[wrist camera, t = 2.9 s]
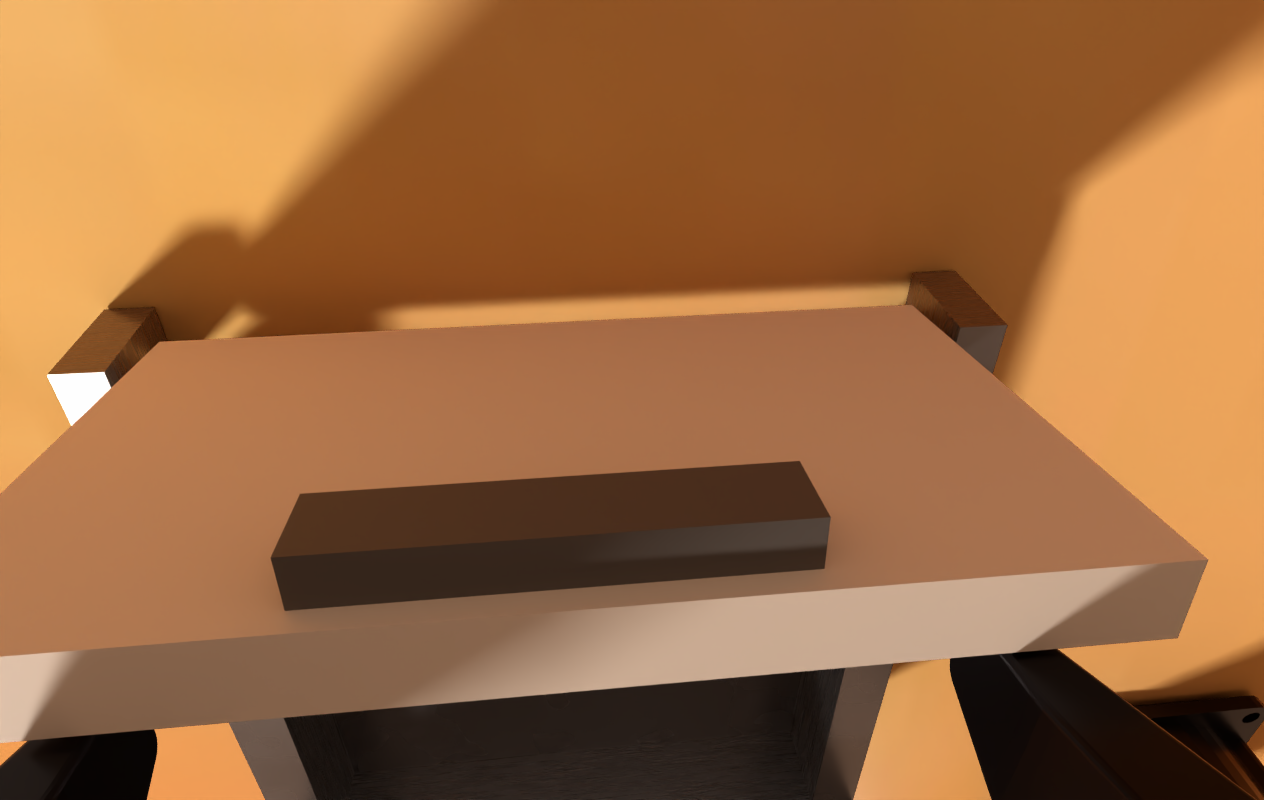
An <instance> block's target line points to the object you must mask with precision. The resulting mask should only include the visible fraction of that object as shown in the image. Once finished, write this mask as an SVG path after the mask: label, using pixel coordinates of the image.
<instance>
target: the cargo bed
mask: <svg viewBox="0 0 1264 800" xmlns="http://www.w3.org/2000/svg"><path fill="white" fill-rule="evenodd" d="M906 305H912V306H914V307H915V308H916V309H917V310H918V311H919V312H921V313H922V314H923V315H924V316H925V317H926V318H928V319H929V320H930V321H931V322H932V323H933V324H935V325H936V326H937V327H938V328H939V329H940V330H942V331H943V332H944V333H945V334H946V335H947V336H949V337H950V338H951V339H952V340H953V341H954V342H956V343H957V344H958V345H959V346H960V347H961V348H963V349H964V350H965V351H966V352H967V353H968V354H969V355H971V356H972V357H973V358H974V359H975V360H976V361H978V362H979V363H980V364H981V365H982V366H983V367H985V368H986V369H987V370H988V371H989V372H990V373H992V374H993V371H994V367H995V364H996V361H997V358H998V354H999V351H1000V348H1001V345H1002V341H1003V338H1004V335H1005V332H1006V328H1007V324H1006V323H1005V322H1004V321H1003V320H1002V319H1001V318H1000V317H999V316H998V315H997V314H996V313H995V312H994V311H993V310H992V309H991V308H990V307H989V305H988V304H987V303H986V302H985V301H984V300H983V299H982V298H981V297H980V296H979V295H978V294H977V293H976V292H975V291H974V290H973V289H972V288H971V287H970V286H969V285H968V284H967V283H966V282H965V281H964V280H963V279H962V278H961V277H960V276H959V275H958V273H957V272H956V271H941V272H919V273H913V274H912V279H911V283H910V288H909V292H908V297H907V301H906ZM165 341H167V339H166V337H165V334H164V331H163V329H162V326H161V323H160V321H159V318H158V315H157V313H156V310H155V308H154V307H151V308H129V309H107V310H104V311H103V312H102V313H101V314H100V315H99V316H98V317H97V319H96V320H95V321H94V322H93V323H92V324H91V325H90V327H89V328H88V329H87V330H86V331H85V332H84V333H83V334H82V336H81V337H80V338H79V339H78V340H77V341H76V342H75V344H74V345H73V346H72V347H71V348H70V349H69V350H68V352H67V353H66V354H65V355H64V356H63V357H62V358H61V359H60V361H59V362H58V363H57V364H56V365H55V366H54V367H53V369H52V370H51V371H50V372H49V373H48V374H47V376H48V378H49V380H50V382H51V385H52V387H53V389H54V391H55V393H56V395H57V397H58V399H59V401H60V403H61V405H62V407H63V409H64V411H65V413H66V415H67V417H68V419H69V421H70V423H71V425H73V424H74V423H75V422H76V421H77V420H78V419H79V418H80V417H81V416H82V415H83V414H84V413H85V412H87V411H88V410H89V409H90V408H91V407H92V406H93V405H94V404H95V403H96V402H97V401H98V400H99V399H100V398H101V397H102V396H103V395H104V394H105V393H106V392H107V391H109V390H110V389H111V388H112V387H113V386H114V385H115V384H116V383H117V382H118V381H119V380H120V379H121V378H122V377H123V376H124V375H125V374H126V373H127V372H128V371H129V370H130V369H132V368H133V367H134V366H135V365H136V364H137V363H138V362H139V361H140V360H141V359H142V358H143V357H144V356H145V355H146V354H147V353H148V352H149V351H150V350H151V349H152V348H153V347H155V346H156V345H157V344H158V343H159V342H165ZM892 666H893V663H892V664H881V665H870V666H858V667H847V668H836V669H825V670H813V671H802V672H791V673H780V674H768V675H757V676H746V677H735V678H724V679H712V680H701V681H690V682H679V683H667V684H656V685H645V686H634V687H623V688H611V689H600V690H589V691H578V692H566V693H555V694H544V695H533V696H522V697H510V698H499V699H488V700H477V701H465V702H454V703H443V704H432V705H421V706H409V707H398V708H387V709H376V710H364V711H353V712H342V713H331V714H320V715H308V716H297V717H286V718H275V719H263V720H252V721H241V722H230V723H229V724H230V726H231V728H232V730H233V732H234V735H235V737H236V739H237V741H238V743H239V745H240V747H241V749H242V751H243V754H244V756H245V758H246V760H247V762H248V764H249V766H250V768H251V770H252V773H253V775H254V777H255V779H256V781H257V783H258V785H259V787H260V789H261V792H262V794H263V796H264V798H265V800H853V798H854V794H855V791H856V788H857V784H858V781H859V778H860V774H861V771H862V767H863V764H864V761H865V757H866V754H867V750H868V747H869V744H870V740H871V737H872V734H873V730H874V727H875V723H876V720H877V717H878V713H879V710H880V706H881V703H882V700H883V696H884V693H885V689H886V686H887V683H888V679H889V676H890V673H891V669H892Z"/></svg>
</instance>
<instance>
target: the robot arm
mask: <svg viewBox="0 0 1264 800" xmlns="http://www.w3.org/2000/svg"><path fill="white" fill-rule="evenodd" d="M950 673H951V678H952V681H953V684H954V687H955V690H956V693H957V697H958V700H959V703H960V706H961V709H962V712H963V715H964V718H965V721H966V724H967V727H968V730H969V733H970V736H971V739H972V742H973V745H974V748H975V751H976V754H977V757H978V760H979V763H980V766H981V769H982V773H983V776H984V779H985V782H986V785H987V788H988V791H989V793H990V796H991V799H992V800H1264V766H1263V764H1262V763H1261V762H1260V760H1259V759H1258V758H1257V757H1256V755H1255V754H1254V753H1253V752H1252V750H1251V749H1250V748H1249V746H1248V745H1247V744H1246V743H1247V742H1248V741H1249V739H1250V738H1251V737H1252V735H1253V734H1254V733H1255V731H1256V730H1257V729H1258V727H1259V726H1260V725H1261V723H1262V722H1263V721H1264V705H1263V704H1262V702H1261V701H1260V700H1259V699H1258V698H1257V697H1255V696H1241V697H1230V698H1220V699H1210V700H1199V701H1189V702H1179V703H1168V704H1158V705H1147V706H1137V707H1134V706H1132V705H1131V704H1130V703H1128V702H1127V701H1126V700H1124V699H1123V698H1122V697H1120V696H1119V695H1118V694H1116V693H1115V692H1114V691H1112V690H1111V689H1110V688H1108V687H1107V686H1106V685H1105V684H1103V683H1102V682H1101V681H1099V680H1098V679H1097V678H1095V677H1094V676H1093V675H1091V674H1090V673H1089V672H1087V671H1086V670H1085V669H1083V668H1082V667H1081V666H1079V665H1078V664H1077V663H1075V662H1074V661H1073V660H1071V659H1070V658H1069V657H1068V656H1066V655H1065V654H1064V653H1062V652H1061V651H1060V650H1058V649H1049V650H1038V651H1027V652H1015V653H1004V654H993V655H982V656H971V657H959V658H950ZM156 755H157V737H156V733H155V730H154V729H151V730H140V731H129V732H118V733H106V734H95V735H84V736H73V737H61V738H50V739H39V740H28V741H27V742H26V743H24V744H23V745H22V746H21V747H20V748H19V749H18V750H17V751H16V752H15V753H14V754H12V755H11V756H10V757H9V758H8V759H7V760H6V761H5V762H4V763H3V764H2V765H0V800H147V796H148V791H149V787H150V782H151V778H152V774H153V769H154V765H155V760H156Z"/></svg>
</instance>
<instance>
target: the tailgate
mask: <svg viewBox="0 0 1264 800" xmlns="http://www.w3.org/2000/svg"><path fill="white" fill-rule="evenodd" d="M1207 562H1208V559H1207V558H1206V557H1205V556H1204V555H1202V554H1201V553H1200V552H1199V551H1198V550H1197V549H1195V548H1194V547H1193V546H1192V545H1191V544H1190V543H1188V542H1187V541H1186V540H1185V539H1184V538H1183V537H1181V536H1180V535H1179V534H1178V533H1177V532H1176V531H1174V530H1173V529H1172V528H1171V527H1170V526H1169V525H1167V524H1166V523H1165V522H1164V521H1163V520H1162V519H1160V518H1159V517H1158V516H1157V515H1156V514H1155V513H1153V512H1152V511H1151V510H1150V509H1149V508H1148V507H1146V506H1145V505H1144V504H1143V503H1142V502H1141V501H1139V500H1138V499H1137V498H1136V497H1135V496H1134V495H1132V494H1131V493H1130V492H1129V491H1128V490H1127V489H1126V488H1124V487H1123V486H1122V485H1121V484H1120V483H1119V482H1117V481H1116V480H1115V479H1114V478H1113V477H1112V476H1110V475H1109V474H1108V473H1107V472H1106V471H1105V470H1103V469H1102V468H1101V467H1100V466H1099V465H1098V464H1096V463H1095V462H1094V461H1093V460H1092V459H1091V458H1089V457H1088V456H1087V455H1086V454H1085V453H1084V452H1082V451H1081V450H1080V449H1079V448H1078V447H1077V446H1075V445H1074V444H1073V443H1072V442H1071V441H1070V440H1068V439H1067V438H1066V437H1065V436H1064V435H1063V434H1061V433H1060V432H1059V431H1058V430H1057V429H1056V428H1054V427H1053V426H1052V425H1051V424H1050V423H1049V422H1048V421H1046V420H1045V419H1044V418H1043V417H1042V416H1041V415H1039V414H1038V413H1037V412H1036V411H1035V410H1034V409H1032V408H1031V407H1030V406H1029V405H1028V404H1027V403H1025V402H1024V401H1023V400H1022V399H1021V398H1020V397H1018V396H1017V395H1016V394H1015V393H1014V392H1013V391H1011V390H1010V389H1009V388H1008V387H1007V386H1006V385H1004V384H1003V383H1002V382H1001V381H1000V380H999V379H997V378H996V377H995V376H994V375H993V374H992V373H990V372H989V371H988V370H987V369H986V368H985V367H983V366H982V365H981V364H980V363H979V362H978V361H976V360H975V359H974V358H973V357H972V356H971V355H969V354H968V353H967V352H966V351H965V350H964V349H963V348H961V347H960V346H959V345H958V344H957V343H956V342H954V341H953V340H952V339H951V338H950V337H949V336H947V335H946V334H945V333H944V332H943V331H942V330H940V329H939V328H938V327H937V326H936V325H935V324H933V323H932V322H931V321H930V320H929V319H928V318H926V317H925V316H924V315H923V314H922V313H921V312H919V311H918V310H917V309H916V308H915V307H914V306H912V305H898V306H877V307H857V308H837V309H816V310H796V311H776V312H755V313H735V314H715V315H694V316H674V317H654V318H633V319H613V320H593V321H572V322H552V323H532V324H511V325H491V326H471V327H450V328H430V329H410V330H389V331H369V332H349V333H328V334H308V335H287V336H267V337H247V338H226V339H206V340H186V341H165V342H159V343H158V344H157V345H156V346H155V347H153V348H152V349H151V350H150V351H149V352H148V353H147V354H146V355H145V356H144V357H143V358H142V359H141V360H140V361H139V362H138V363H137V364H136V365H135V366H134V367H133V368H132V369H130V370H129V371H128V372H127V373H126V374H125V375H124V376H123V377H122V378H121V379H120V380H119V381H118V382H117V383H116V384H115V385H114V386H113V387H112V388H111V389H110V390H109V391H107V392H106V393H105V394H104V395H103V396H102V397H101V398H100V399H99V400H98V401H97V402H96V403H95V404H94V405H93V406H92V407H91V408H90V409H89V410H88V411H87V412H85V413H84V414H83V415H82V416H81V417H80V418H79V419H78V420H77V421H76V422H75V423H74V424H73V425H72V426H71V427H70V428H69V429H68V430H67V431H66V432H65V433H64V434H62V435H61V436H60V437H59V438H58V439H57V440H56V441H55V442H54V443H53V444H52V445H51V446H50V447H49V448H48V449H47V450H46V451H45V452H44V453H43V454H42V455H41V456H39V457H38V458H37V459H36V460H35V461H34V462H33V463H32V464H31V465H30V466H29V467H28V468H27V469H26V470H25V471H24V472H23V473H22V474H21V475H20V476H19V477H18V478H16V479H15V480H14V481H13V482H12V483H11V484H10V485H9V486H8V487H7V488H6V489H5V490H4V491H3V492H2V493H1V494H0V743H5V742H16V741H28V740H39V739H50V738H61V737H73V736H84V735H95V734H106V733H118V732H129V731H140V730H151V729H162V728H174V727H185V726H196V725H207V724H219V723H230V722H241V721H252V720H263V719H275V718H286V717H297V716H308V715H320V714H331V713H342V712H353V711H364V710H376V709H387V708H398V707H409V706H421V705H432V704H443V703H454V702H465V701H477V700H488V699H499V698H510V697H522V696H533V695H544V694H555V693H566V692H578V691H589V690H600V689H611V688H623V687H634V686H645V685H656V684H667V683H679V682H690V681H701V680H712V679H724V678H735V677H746V676H757V675H768V674H780V673H791V672H802V671H813V670H825V669H836V668H847V667H858V666H870V665H881V664H892V663H903V662H914V661H926V660H937V659H948V658H959V657H971V656H982V655H993V654H1004V653H1015V652H1027V651H1038V650H1049V649H1060V648H1072V647H1083V646H1094V645H1105V644H1116V643H1128V642H1139V641H1150V640H1161V639H1173V638H1178V636H1179V633H1180V631H1181V628H1182V626H1183V623H1184V621H1185V618H1186V615H1187V613H1188V610H1189V608H1190V605H1191V603H1192V600H1193V598H1194V595H1195V592H1196V590H1197V587H1198V585H1199V582H1200V580H1201V577H1202V574H1203V572H1204V569H1205V567H1206V564H1207Z"/></svg>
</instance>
